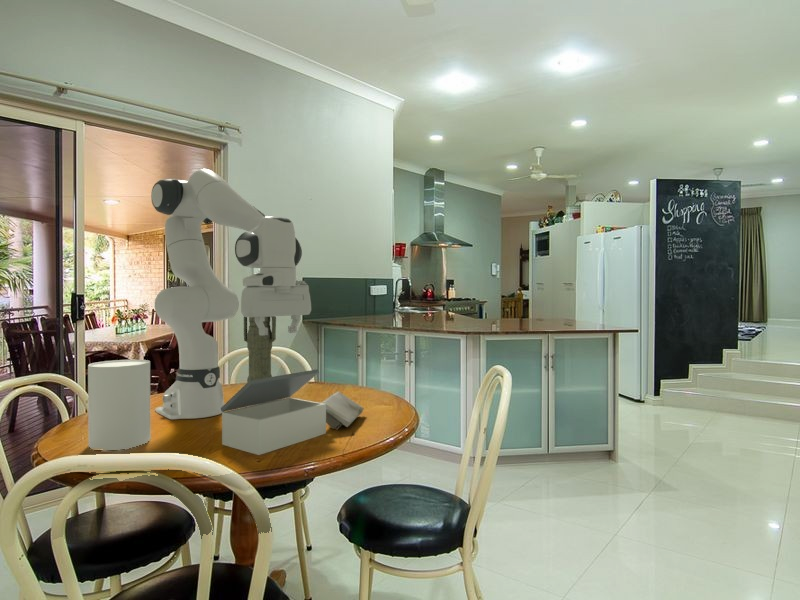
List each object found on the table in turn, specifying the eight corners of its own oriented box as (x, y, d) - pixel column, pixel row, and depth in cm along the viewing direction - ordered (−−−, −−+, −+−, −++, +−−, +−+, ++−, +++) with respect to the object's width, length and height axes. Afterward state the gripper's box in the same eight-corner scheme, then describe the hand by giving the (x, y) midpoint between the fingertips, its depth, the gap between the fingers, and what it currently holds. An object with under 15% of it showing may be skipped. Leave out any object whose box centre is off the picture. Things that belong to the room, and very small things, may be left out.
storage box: (222, 444, 124) (222, 412, 124) (290, 425, 142) (290, 397, 142) (258, 455, 116) (258, 420, 115) (326, 433, 133) (325, 403, 133)
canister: (137, 432, 135) (136, 358, 135) (160, 441, 126) (159, 362, 126) (80, 443, 125) (79, 363, 124) (100, 455, 116) (100, 368, 116)
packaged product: (357, 421, 152) (330, 402, 153) (365, 408, 151) (338, 389, 153) (341, 437, 134) (310, 416, 135) (350, 422, 134) (320, 401, 135)
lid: (221, 411, 124) (220, 408, 124) (289, 397, 142) (288, 394, 142) (251, 384, 117) (249, 380, 117) (318, 372, 135) (317, 369, 135)
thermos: (272, 398, 179) (272, 300, 178) (240, 398, 179) (239, 300, 179) (279, 393, 188) (279, 300, 187) (248, 393, 188) (247, 300, 188)
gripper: (300, 280, 138) (300, 331, 138) (236, 279, 121) (237, 336, 121) (316, 280, 134) (316, 332, 134) (253, 278, 118) (253, 337, 118)
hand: (278, 334), depth 128 cm, fingers open, 8 cm apart
